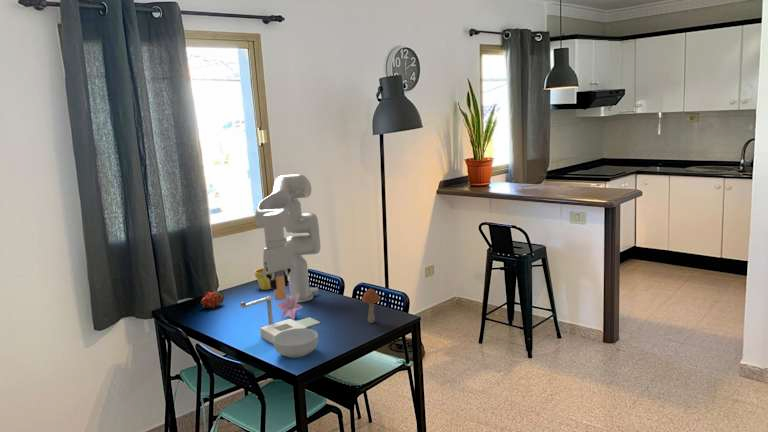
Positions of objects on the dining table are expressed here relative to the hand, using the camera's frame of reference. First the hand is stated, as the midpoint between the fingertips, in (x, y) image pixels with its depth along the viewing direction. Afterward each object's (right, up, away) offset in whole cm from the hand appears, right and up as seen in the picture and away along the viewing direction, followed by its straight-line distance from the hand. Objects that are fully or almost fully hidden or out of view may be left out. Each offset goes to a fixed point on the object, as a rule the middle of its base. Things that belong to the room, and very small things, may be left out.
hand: (279, 286), depth 239 cm
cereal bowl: (+9, -24, -14) cm, 29 cm away
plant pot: (-20, -10, +73) cm, 76 cm away
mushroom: (+37, -17, +14) cm, 43 cm away
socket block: (0, -21, +6) cm, 21 cm away
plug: (0, -5, +1) cm, 5 cm away
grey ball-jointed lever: (-10, -7, +6) cm, 14 cm away
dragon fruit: (-41, -16, +47) cm, 64 cm away
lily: (0, -17, +27) cm, 32 cm away
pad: (+9, -18, +17) cm, 26 cm away
